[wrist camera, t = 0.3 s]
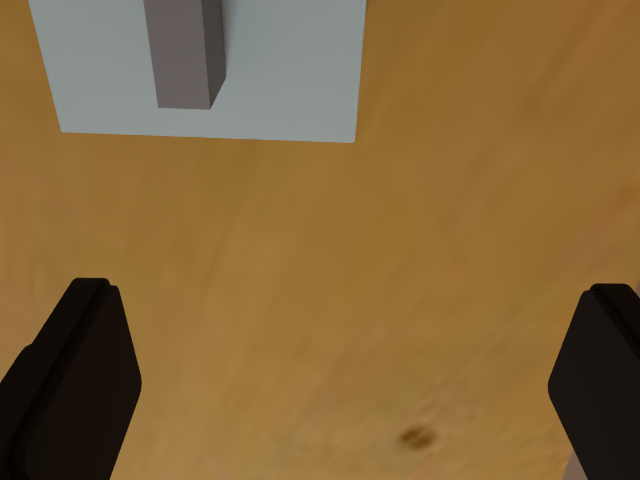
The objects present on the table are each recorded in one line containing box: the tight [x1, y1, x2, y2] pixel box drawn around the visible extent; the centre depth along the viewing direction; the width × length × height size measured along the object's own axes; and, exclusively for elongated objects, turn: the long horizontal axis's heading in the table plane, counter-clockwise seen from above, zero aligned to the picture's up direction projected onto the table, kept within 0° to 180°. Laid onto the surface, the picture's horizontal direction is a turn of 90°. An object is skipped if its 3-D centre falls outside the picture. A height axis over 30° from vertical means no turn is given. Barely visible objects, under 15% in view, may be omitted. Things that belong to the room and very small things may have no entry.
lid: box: [28, 0, 366, 143], centre depth 25 cm, size 15×17×7 cm
